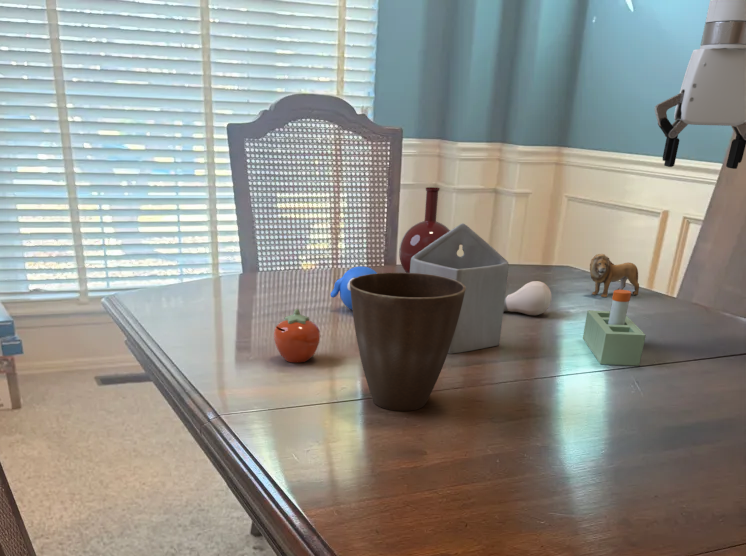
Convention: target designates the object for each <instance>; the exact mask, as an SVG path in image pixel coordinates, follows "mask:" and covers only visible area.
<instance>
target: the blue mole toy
mask: <svg viewBox="0 0 746 556" xmlns="http://www.w3.org/2000/svg"><path fill="white" fill-rule="evenodd" d="M377 273H378V272H377V271H376V270H375V269H373V268H371V267H368V266H363V265H362V266H360V265H358V266H354V267H351V268H350V269H348V270H346V272H344V274H343V275H342V277H340V278H338V279H336V281H335V282H334V286H333V289H332V291H331V292H330V298H335V297H337V296H338V294H339V298H340V300H341V301H342V303H343V305H344V306H345V307H346V308H347V309H349V310H351V311H353V310H352V300H351V290H350V281H351V280H352V279H354V278H356V277H359V276H363V275H368V274H377Z"/></svg>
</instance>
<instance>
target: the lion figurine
mask: <svg viewBox="0 0 746 556" xmlns="http://www.w3.org/2000/svg"><path fill="white" fill-rule="evenodd" d="M589 274H590V278H591V280H592V282H594V291H592V292H591V295H593V296H597V295H599V293H600V290H601V284H603V290H602V293H601V295H600V296H601V298H607V297H608V295H609V288H610V284H611V283H616V282H619V281H620V286H619V288H617V289H616V290H624V289H625V288H626V283H627V281H629V283H630V284H631V285H632V286H633V289H634V291H633V290H632V291H631V295H633V296H637V295H639V291H640V284H639V269H638V267H637V266H636V264H634V263H633V262H623V263H619V264H614V263H613V262H612V261H611V260H610V257H609V256H607V255H606V254H605V253H597V254H595V255H594V256H593V257H592V258H591V259H590V263H589Z"/></svg>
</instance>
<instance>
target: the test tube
mask: <svg viewBox="0 0 746 556" xmlns="http://www.w3.org/2000/svg"><path fill="white" fill-rule="evenodd" d="M631 298H632V291H631V290H627V289H623V290H617V289H614V290H613V292H612V298H611V299H612V301H611V307H610V310H609V311H610V316H609V322H608V324H614V325H624V324H625V319H626V315H627V314H628V309H629V305H630V304H629V303H630V301H631Z"/></svg>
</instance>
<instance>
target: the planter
mask: <svg viewBox="0 0 746 556" xmlns="http://www.w3.org/2000/svg"><path fill="white" fill-rule="evenodd" d="M460 246H462V249H461V250H462V252H463V255H461V256H459V255H458V251H459V250H460ZM509 265H510V264H509V261H508V260H507V259H506V258H505V257H504V256H503V255H502V254H500V253H499V252H498V250H496V249H495V248H494V247H493V246H492V245H490V244H489V243H488V242H487V241H486V240H484V238H483V237H481V236H480V235H479V234H478V233H477V232H475V230H473V229H472V228H470V227H469V226H468V225H467V224H466V223H460V224H458V225H457V226H455V227H454V228H452V229H450V231H449V232H448V233H446V234H445V235H443V236H442V237H440V238H439V239H437V240H436V241H434V242H433V243H431V244H430V245H428V246H427V247H425V248H424V249H423V250H421V251H420V252H418V253H417V254H415V255H414V256H413V257H412V258H411V264H410V273H420V274H429V275H436V276H441V277H446V278H450V279H453V280H456V281H459V282H461V283H463V284H464V285H465V287H466V290H465V294H464V299H463V303H462V307H461V311H460V315H459V319H458V323H457V326H456V330H455V333H454V336H453V339H452V342H451V345H450V348H449V351H448V354H447V355H454V354H459V353H460V354H461V353H466V352H471V351H478V350H483V349H487V348H493V347H497V346H499V345H500V343H501V342H500V341H501V334H502V333H501V332H502V325H503V319H504V318H503V316H504V312H503V310H504V301H505V297H506V293H507V285H508V278H509V277H508V276H509V268H510V267H509Z"/></svg>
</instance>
